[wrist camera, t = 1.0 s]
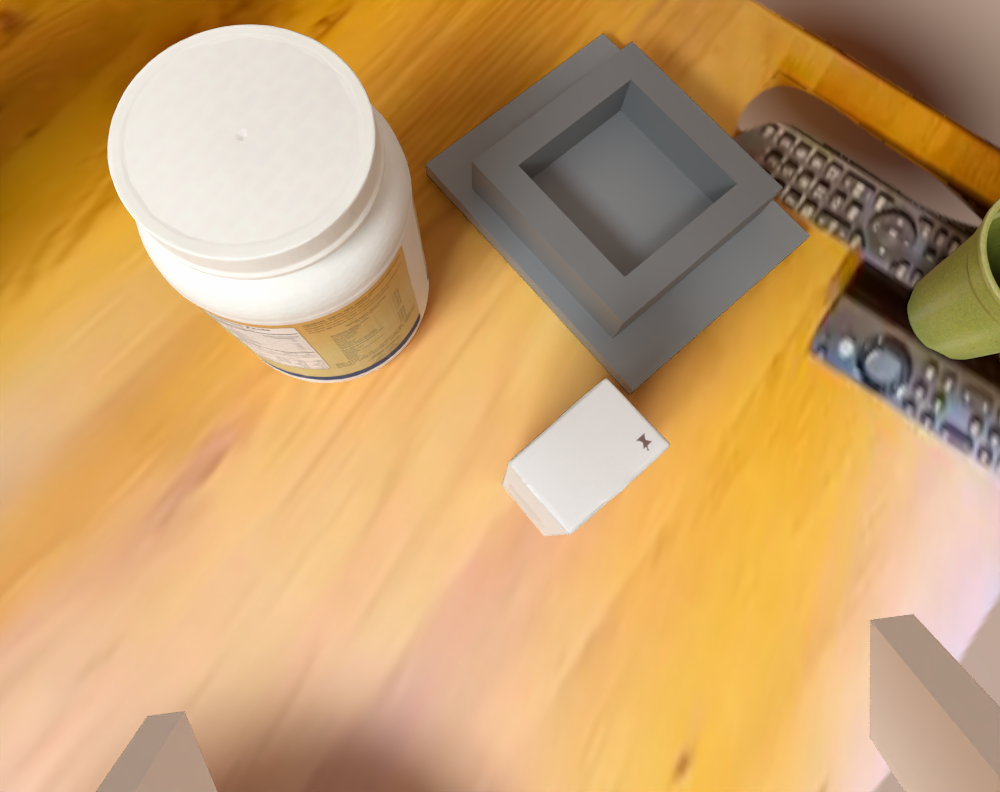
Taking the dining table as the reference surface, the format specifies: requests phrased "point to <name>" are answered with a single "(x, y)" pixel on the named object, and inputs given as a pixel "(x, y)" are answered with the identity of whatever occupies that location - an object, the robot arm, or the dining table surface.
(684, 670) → the dining table surface
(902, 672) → the robot arm
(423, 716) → the dining table surface
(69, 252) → the dining table surface
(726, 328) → the dining table surface
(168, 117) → the supplement tub
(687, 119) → the slate stand
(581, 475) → the skincare box
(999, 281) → the plant pot
